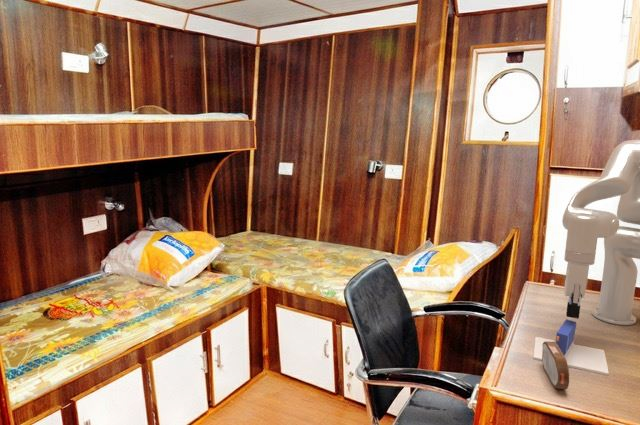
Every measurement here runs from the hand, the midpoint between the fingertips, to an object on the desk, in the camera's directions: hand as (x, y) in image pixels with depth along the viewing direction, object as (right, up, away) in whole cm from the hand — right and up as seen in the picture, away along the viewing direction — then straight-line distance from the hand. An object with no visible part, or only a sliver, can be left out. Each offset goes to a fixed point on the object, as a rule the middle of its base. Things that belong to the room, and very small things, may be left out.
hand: (572, 316), depth 134 cm
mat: (-3, -10, -4) cm, 11 cm away
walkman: (-1, -5, 0) cm, 5 cm away
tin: (-14, -13, -16) cm, 24 cm away
